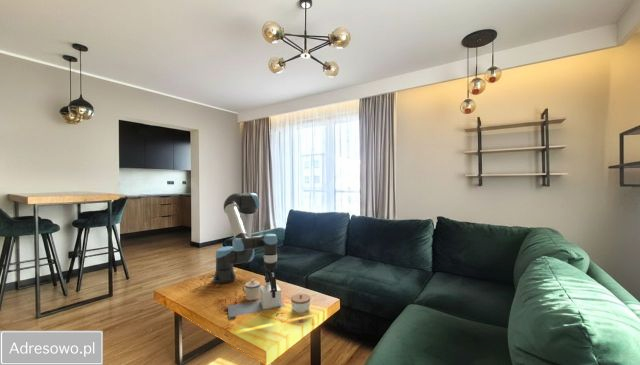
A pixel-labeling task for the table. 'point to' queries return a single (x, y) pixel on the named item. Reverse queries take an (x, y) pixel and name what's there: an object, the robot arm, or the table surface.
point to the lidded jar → (300, 302)
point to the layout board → (247, 308)
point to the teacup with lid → (252, 290)
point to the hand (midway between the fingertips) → (270, 298)
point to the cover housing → (269, 297)
